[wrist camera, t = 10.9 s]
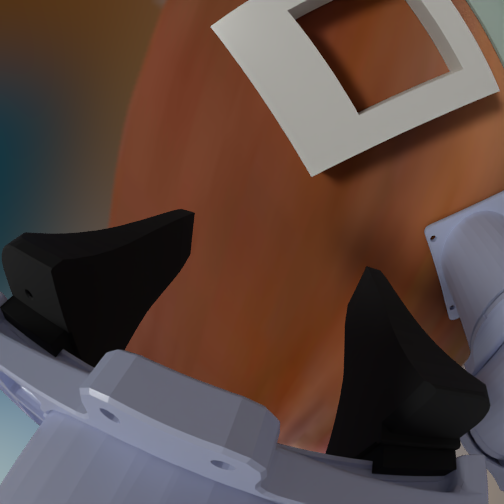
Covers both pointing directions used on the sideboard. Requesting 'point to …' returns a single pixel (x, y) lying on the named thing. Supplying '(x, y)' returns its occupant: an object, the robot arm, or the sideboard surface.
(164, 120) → the sideboard surface
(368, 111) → the bulb holder
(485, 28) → the mat
